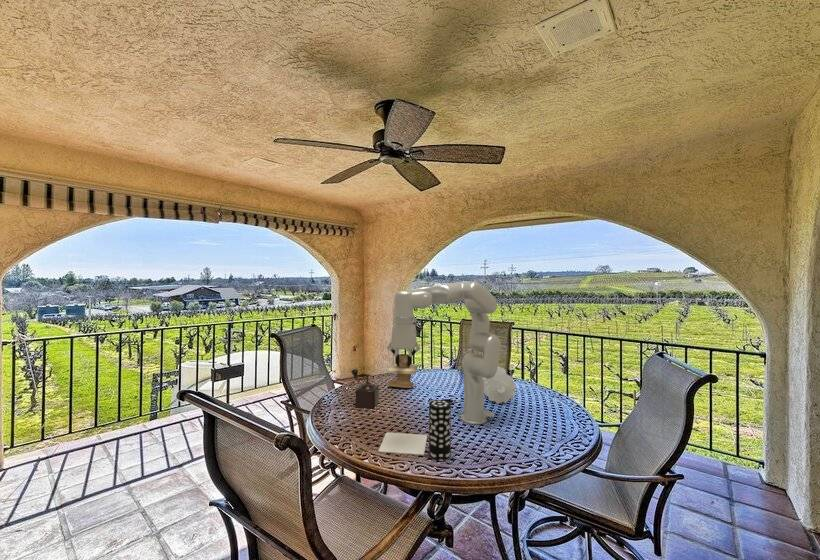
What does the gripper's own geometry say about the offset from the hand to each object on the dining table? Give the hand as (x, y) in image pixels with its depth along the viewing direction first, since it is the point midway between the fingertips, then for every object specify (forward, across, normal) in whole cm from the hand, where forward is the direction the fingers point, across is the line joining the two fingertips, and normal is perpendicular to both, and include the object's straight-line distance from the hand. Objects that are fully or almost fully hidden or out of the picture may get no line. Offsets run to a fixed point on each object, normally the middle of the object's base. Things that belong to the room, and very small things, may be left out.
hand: (403, 365), depth 139 cm
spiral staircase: (+32, -44, -59) cm, 81 cm away
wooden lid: (+2, 0, 0) cm, 2 cm away
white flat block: (+32, 0, 0) cm, 32 cm away
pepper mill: (+33, +28, -39) cm, 58 cm away
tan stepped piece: (+32, +12, -71) cm, 79 cm away
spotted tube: (+33, -15, +7) cm, 37 cm away
